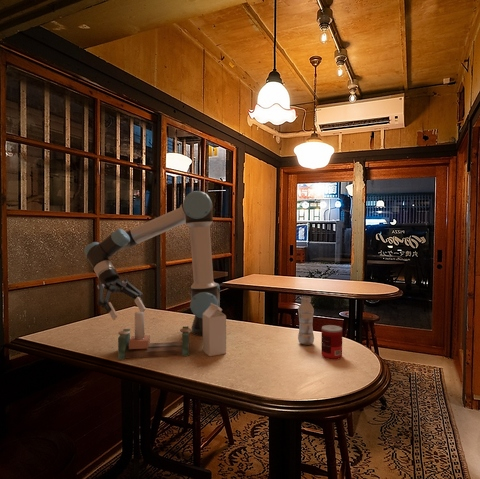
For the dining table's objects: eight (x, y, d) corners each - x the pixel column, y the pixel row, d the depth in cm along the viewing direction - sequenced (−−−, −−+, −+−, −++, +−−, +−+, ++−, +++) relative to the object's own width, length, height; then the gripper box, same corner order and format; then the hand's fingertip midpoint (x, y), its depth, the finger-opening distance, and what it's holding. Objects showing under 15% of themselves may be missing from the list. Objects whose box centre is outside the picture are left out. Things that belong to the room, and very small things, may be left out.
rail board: (191, 345, 147) (190, 325, 147) (191, 355, 135) (191, 333, 135) (121, 348, 143) (121, 328, 143) (115, 359, 131) (115, 337, 131)
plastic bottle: (314, 347, 145) (314, 298, 144) (297, 346, 146) (297, 298, 145) (314, 342, 151) (314, 295, 150) (298, 341, 152) (298, 295, 152)
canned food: (343, 354, 136) (343, 326, 136) (340, 361, 129) (340, 331, 129) (323, 351, 140) (323, 324, 139) (319, 358, 132) (319, 329, 132)
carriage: (149, 342, 142) (149, 310, 142) (147, 348, 135) (147, 314, 135) (131, 343, 141) (131, 311, 141) (129, 349, 134) (128, 315, 134)
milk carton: (209, 356, 134) (209, 307, 133) (202, 351, 140) (202, 303, 139) (226, 353, 137) (226, 305, 136) (218, 348, 143) (218, 302, 143)
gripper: (127, 276, 160) (150, 313, 152) (75, 283, 139) (98, 327, 131) (135, 265, 156) (158, 302, 148) (82, 270, 136) (106, 314, 128)
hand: (130, 314), depth 140 cm, fingers open, 13 cm apart
